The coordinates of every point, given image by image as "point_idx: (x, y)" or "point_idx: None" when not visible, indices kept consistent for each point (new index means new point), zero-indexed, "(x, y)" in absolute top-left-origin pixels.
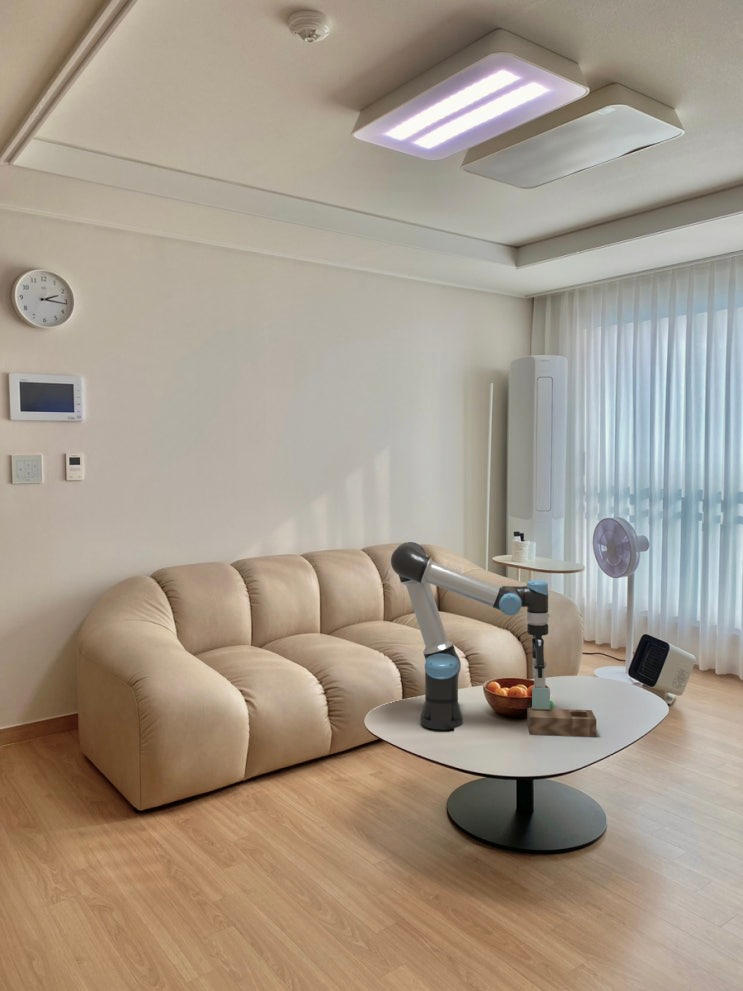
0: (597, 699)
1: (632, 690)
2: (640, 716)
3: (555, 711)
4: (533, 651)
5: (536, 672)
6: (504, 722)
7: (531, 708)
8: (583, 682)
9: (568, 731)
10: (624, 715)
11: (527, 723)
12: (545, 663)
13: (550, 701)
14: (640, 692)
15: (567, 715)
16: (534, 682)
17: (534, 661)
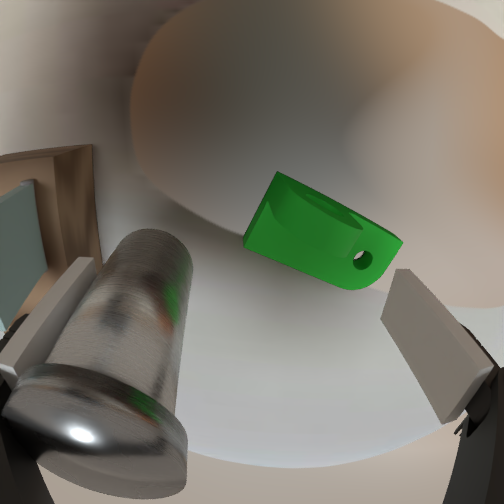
0: (387, 394)
1: (417, 435)
2: (241, 449)
3: (42, 285)
4: (491, 472)
5: (18, 334)
6: (117, 46)
7: (33, 179)
8: (498, 361)
9: None
10: (246, 431)
11: (75, 146)
12: (68, 480)
13: (361, 282)
14: (401, 445)
15: (19, 317)
16: (122, 259)
17: (136, 440)
